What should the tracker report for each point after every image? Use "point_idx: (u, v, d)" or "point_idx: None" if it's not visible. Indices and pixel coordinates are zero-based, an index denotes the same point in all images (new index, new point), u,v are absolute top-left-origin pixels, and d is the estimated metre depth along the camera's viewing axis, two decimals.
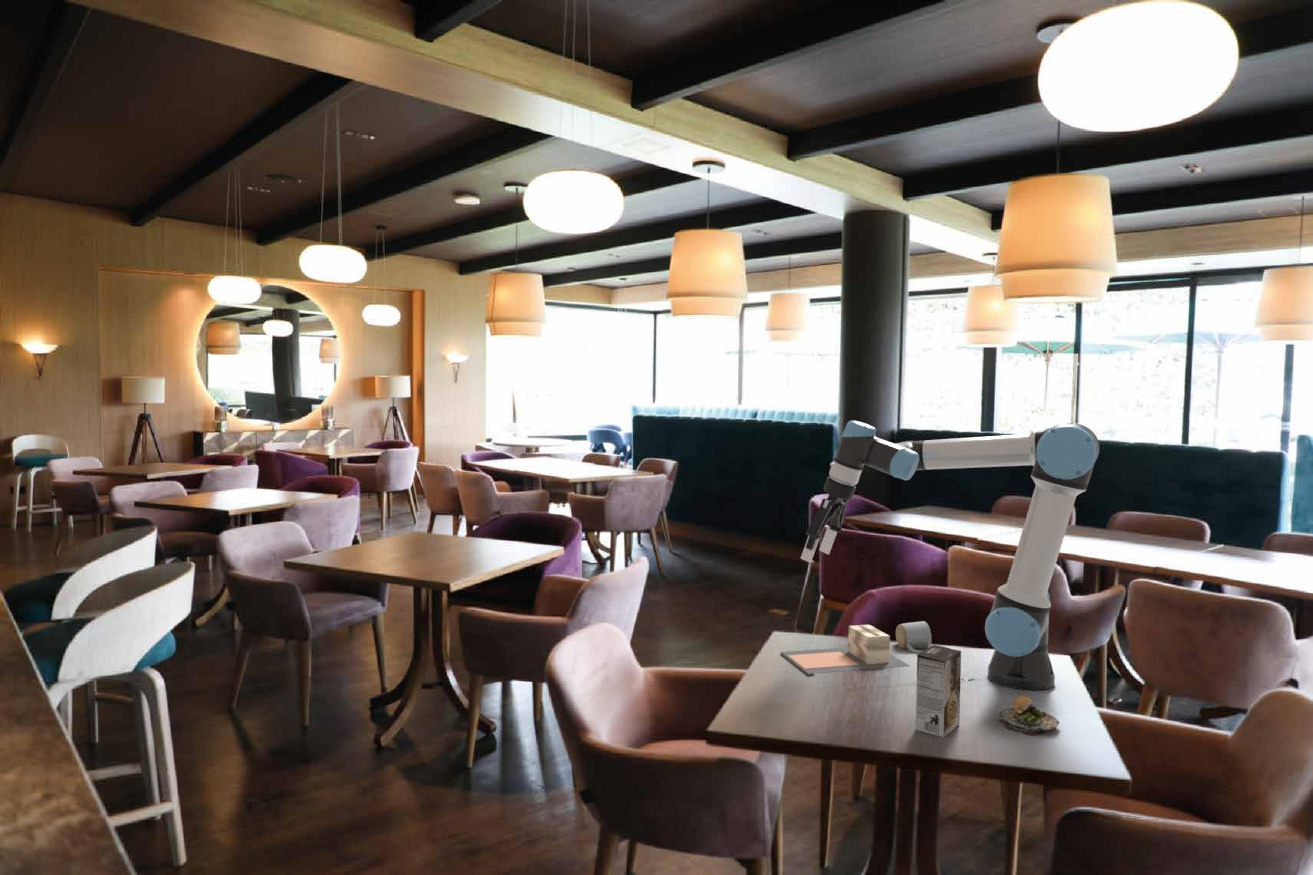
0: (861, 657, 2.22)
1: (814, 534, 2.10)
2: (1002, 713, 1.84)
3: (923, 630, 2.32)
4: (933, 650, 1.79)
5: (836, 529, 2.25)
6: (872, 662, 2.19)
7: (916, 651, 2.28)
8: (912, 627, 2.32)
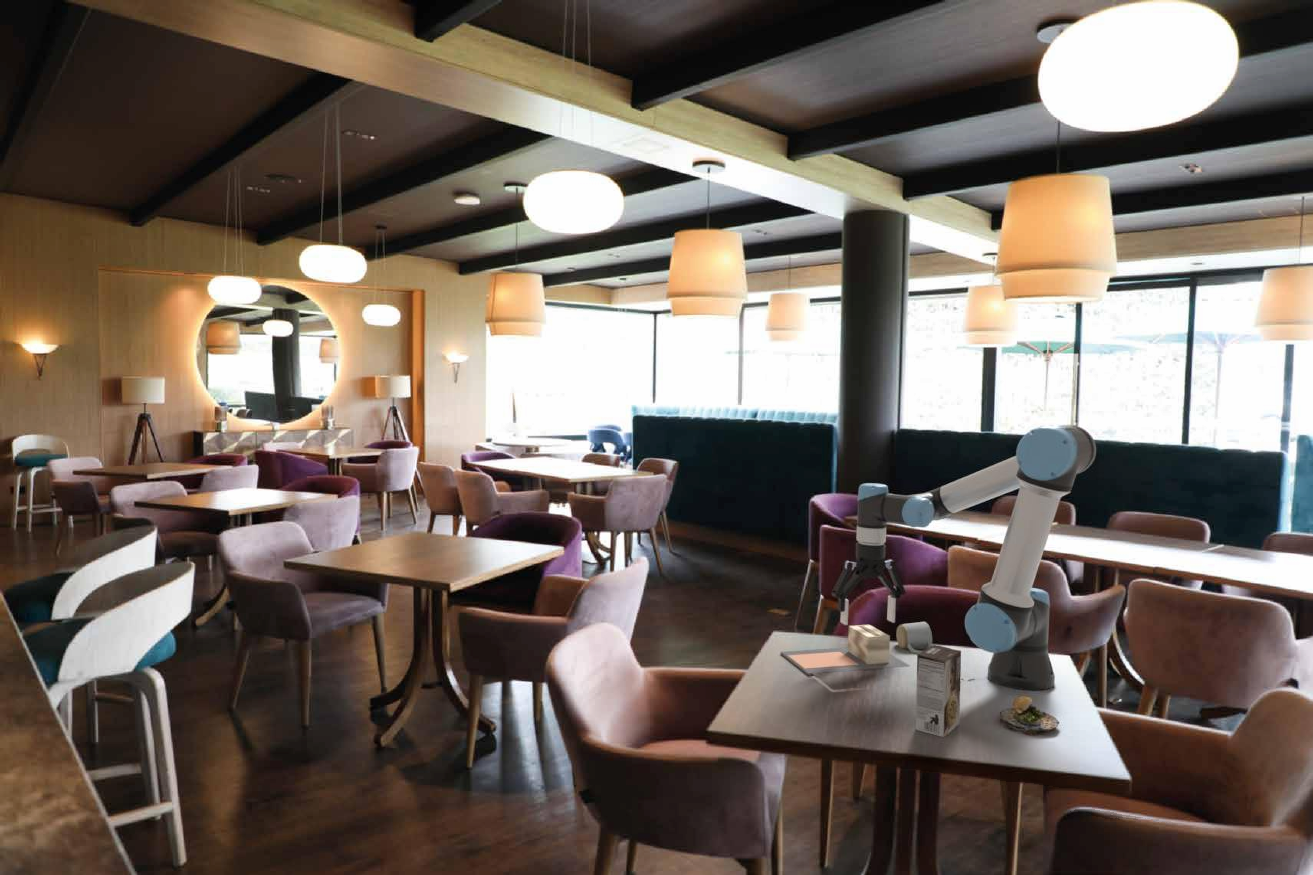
0: (861, 657, 2.22)
1: (835, 594, 2.21)
2: (1002, 713, 1.84)
3: (924, 631, 2.31)
4: (933, 650, 1.79)
5: (895, 595, 2.25)
6: (872, 662, 2.19)
7: (917, 652, 2.28)
8: (913, 628, 2.32)
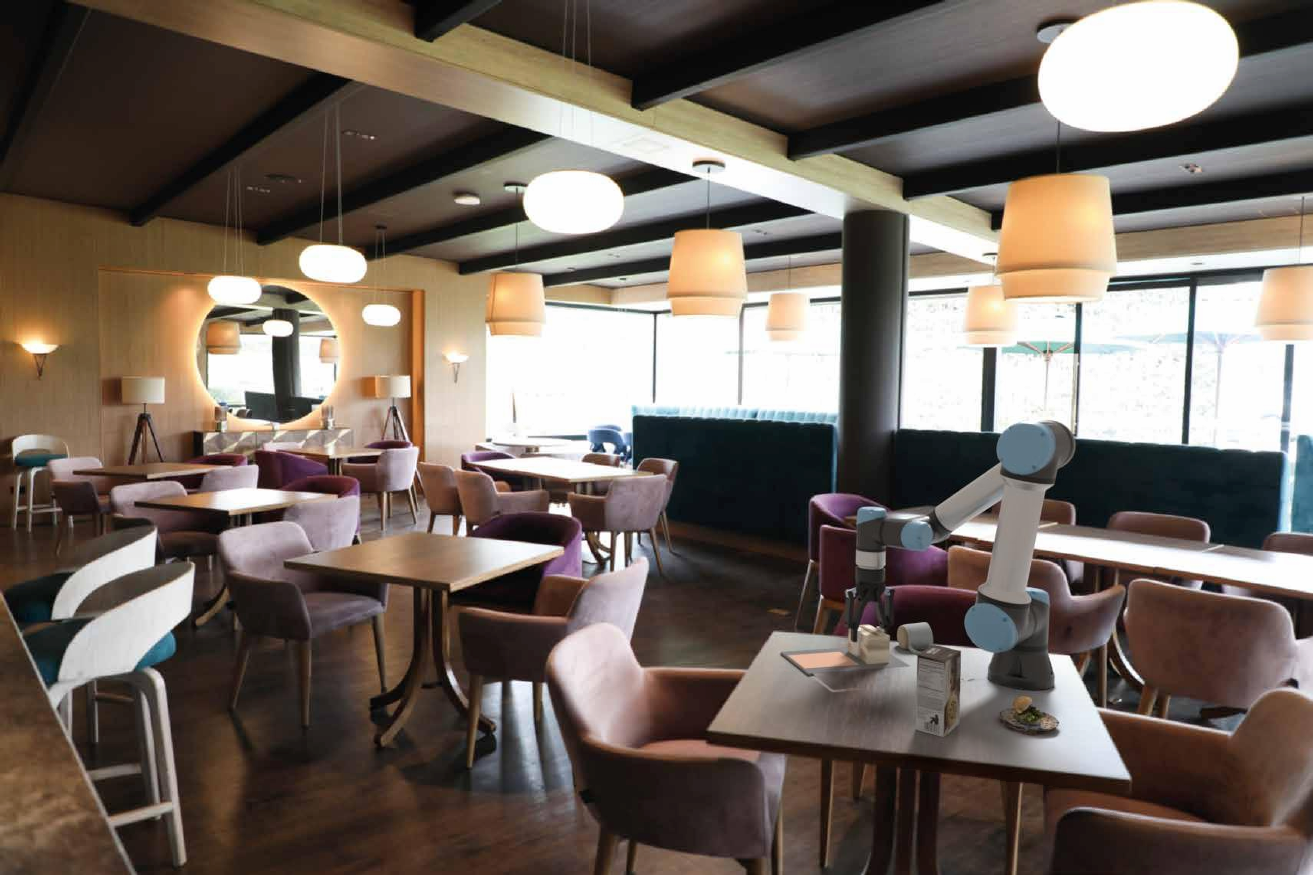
0: (861, 657, 2.22)
1: (847, 625, 2.22)
2: (1002, 713, 1.84)
3: (925, 632, 2.31)
4: (933, 650, 1.79)
5: (883, 626, 2.24)
6: (872, 662, 2.19)
7: (918, 652, 2.27)
8: (913, 629, 2.31)
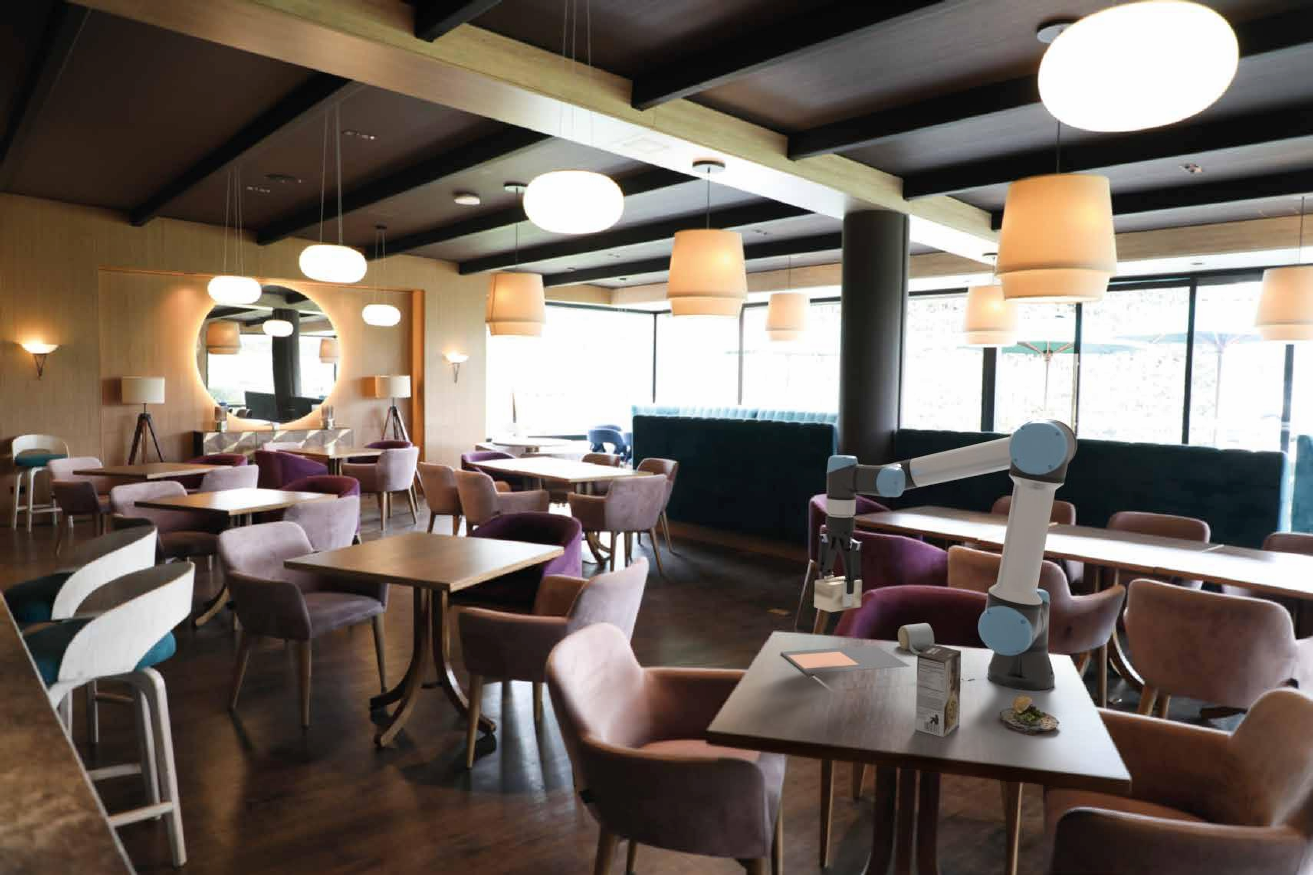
0: None
1: None
2: (1002, 713, 1.84)
3: (926, 632, 2.30)
4: (933, 650, 1.79)
5: None
6: (817, 606, 2.21)
7: None
8: (914, 629, 2.30)
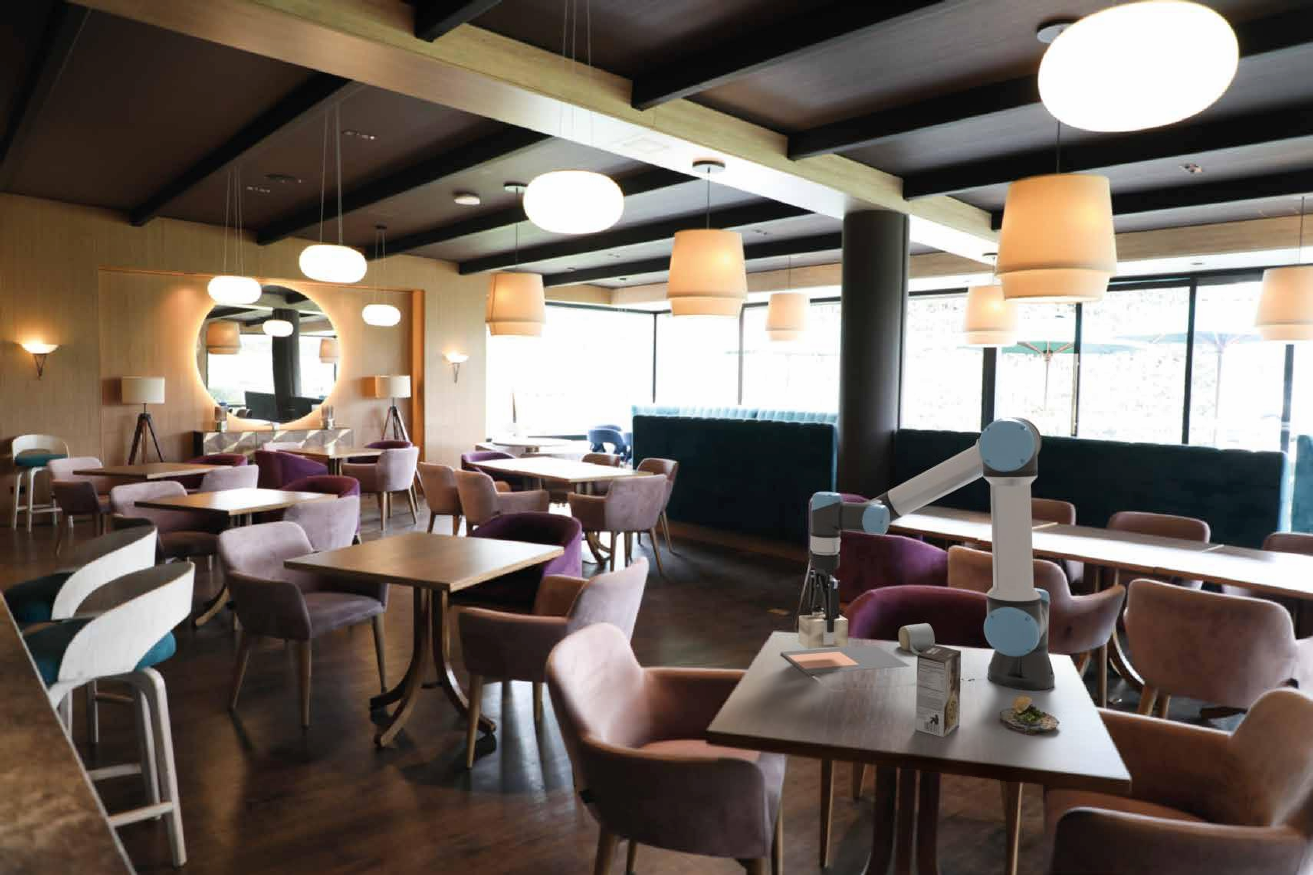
0: None
1: None
2: (1002, 713, 1.84)
3: (926, 633, 2.29)
4: (933, 650, 1.79)
5: None
6: (800, 642, 2.22)
7: None
8: (915, 630, 2.30)
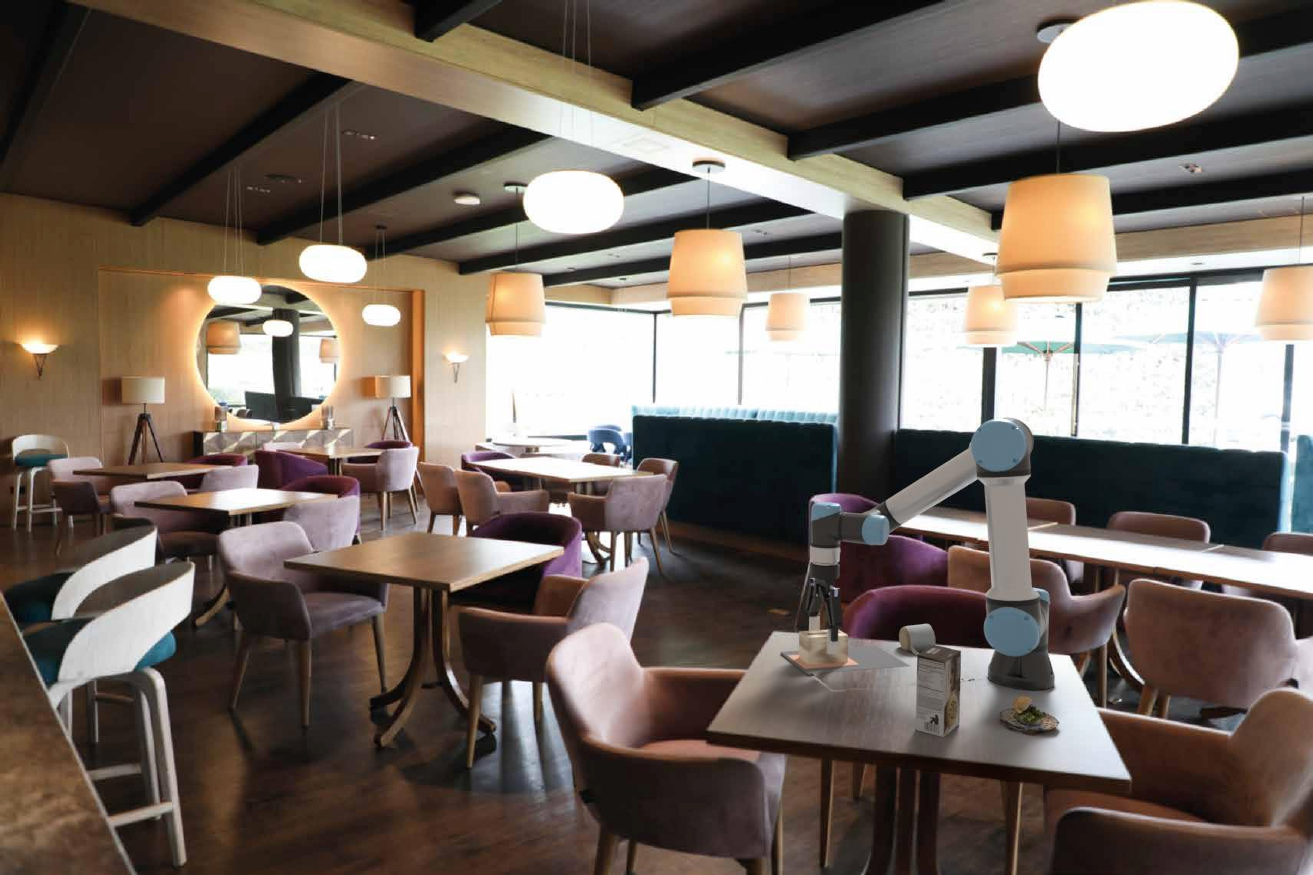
0: None
1: None
2: (1002, 713, 1.84)
3: (927, 633, 2.29)
4: (933, 650, 1.79)
5: None
6: (800, 657, 2.22)
7: None
8: (916, 630, 2.30)
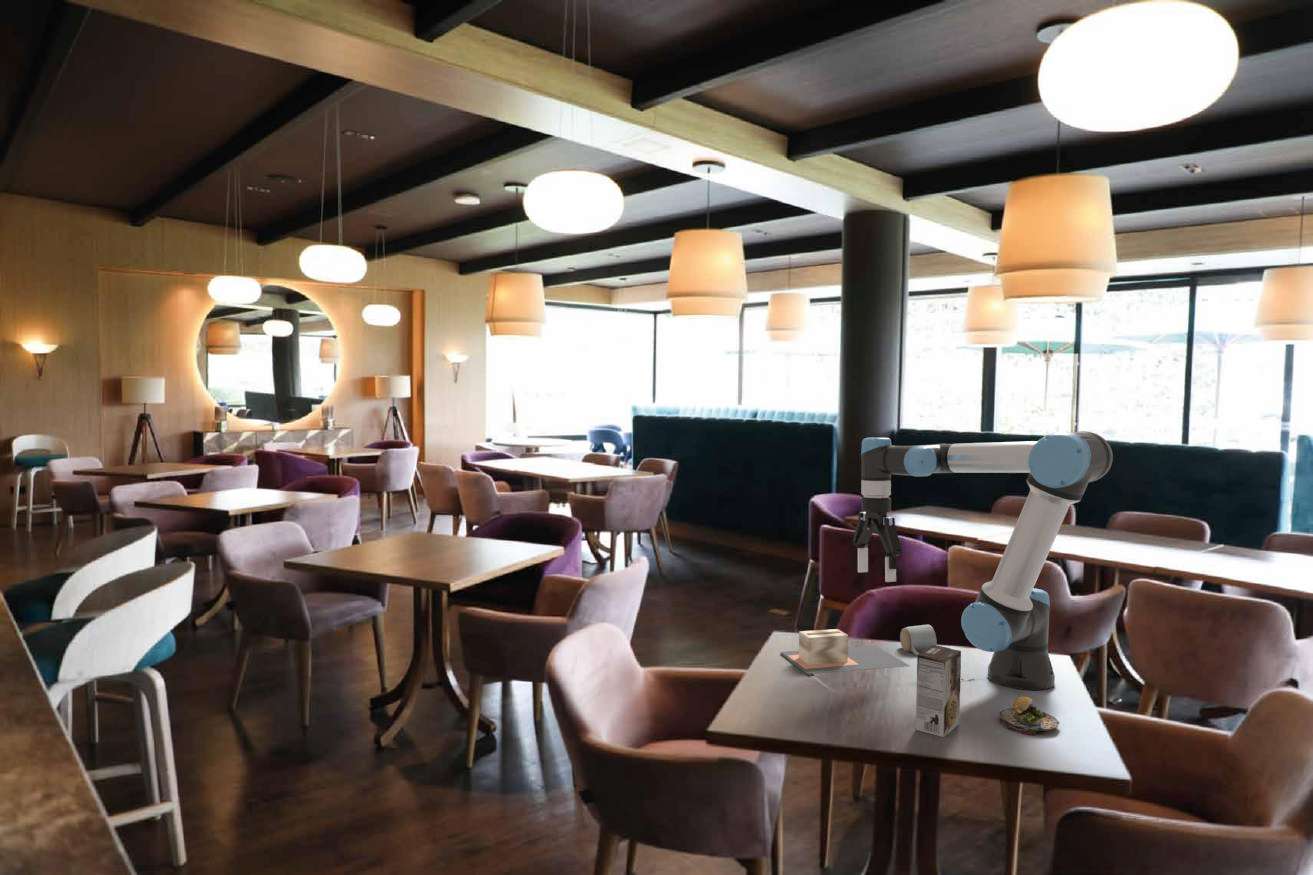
0: None
1: None
2: (1002, 713, 1.84)
3: (928, 634, 2.28)
4: (933, 650, 1.79)
5: None
6: (800, 657, 2.22)
7: None
8: (917, 631, 2.29)
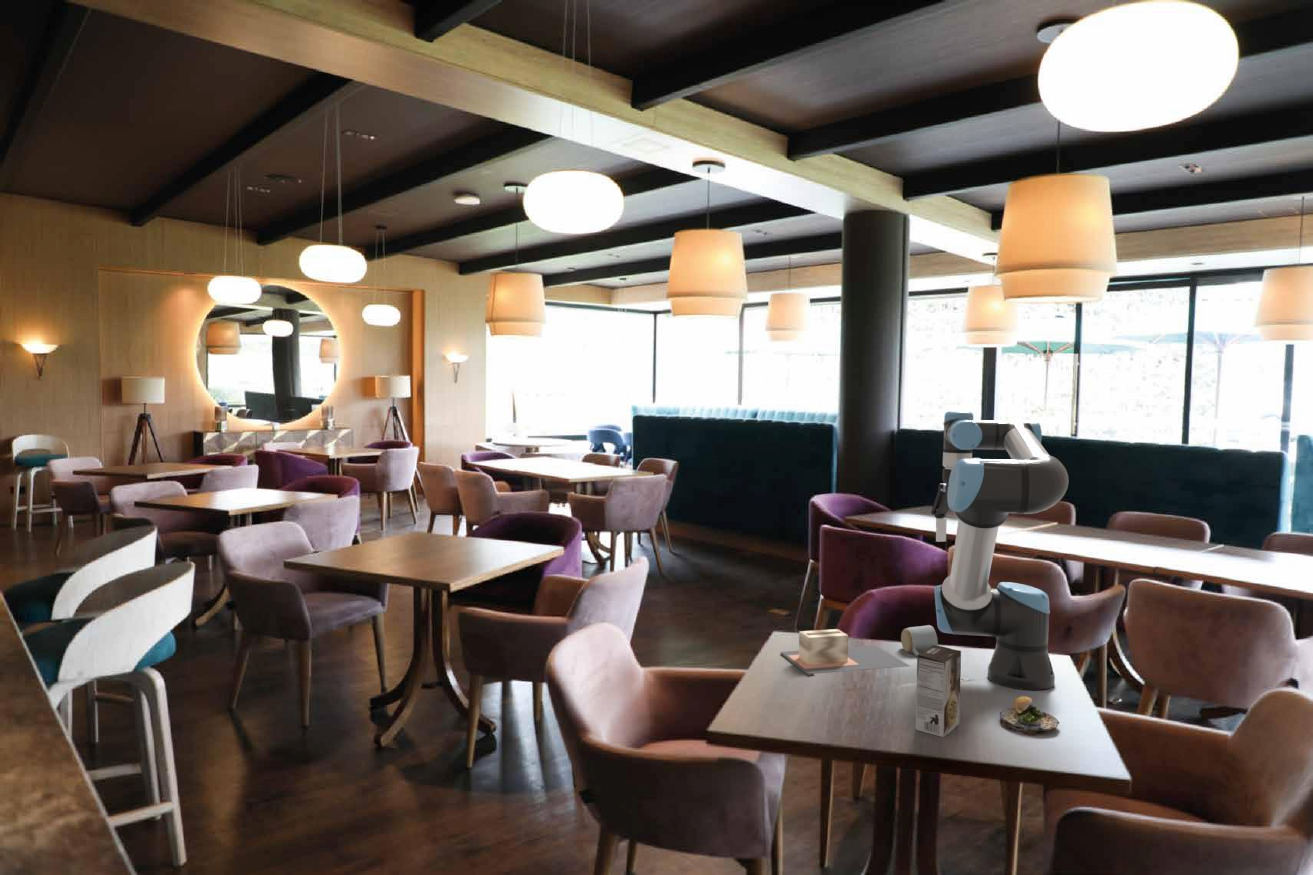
0: None
1: None
2: (1002, 713, 1.84)
3: (929, 635, 2.28)
4: (933, 650, 1.79)
5: None
6: (800, 657, 2.22)
7: None
8: (918, 632, 2.28)
